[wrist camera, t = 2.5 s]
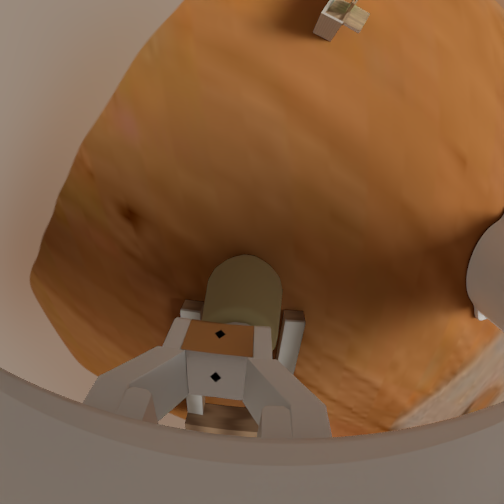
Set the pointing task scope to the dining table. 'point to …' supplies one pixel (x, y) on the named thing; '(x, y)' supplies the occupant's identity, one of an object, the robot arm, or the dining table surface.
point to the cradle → (239, 418)
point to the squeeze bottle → (244, 294)
